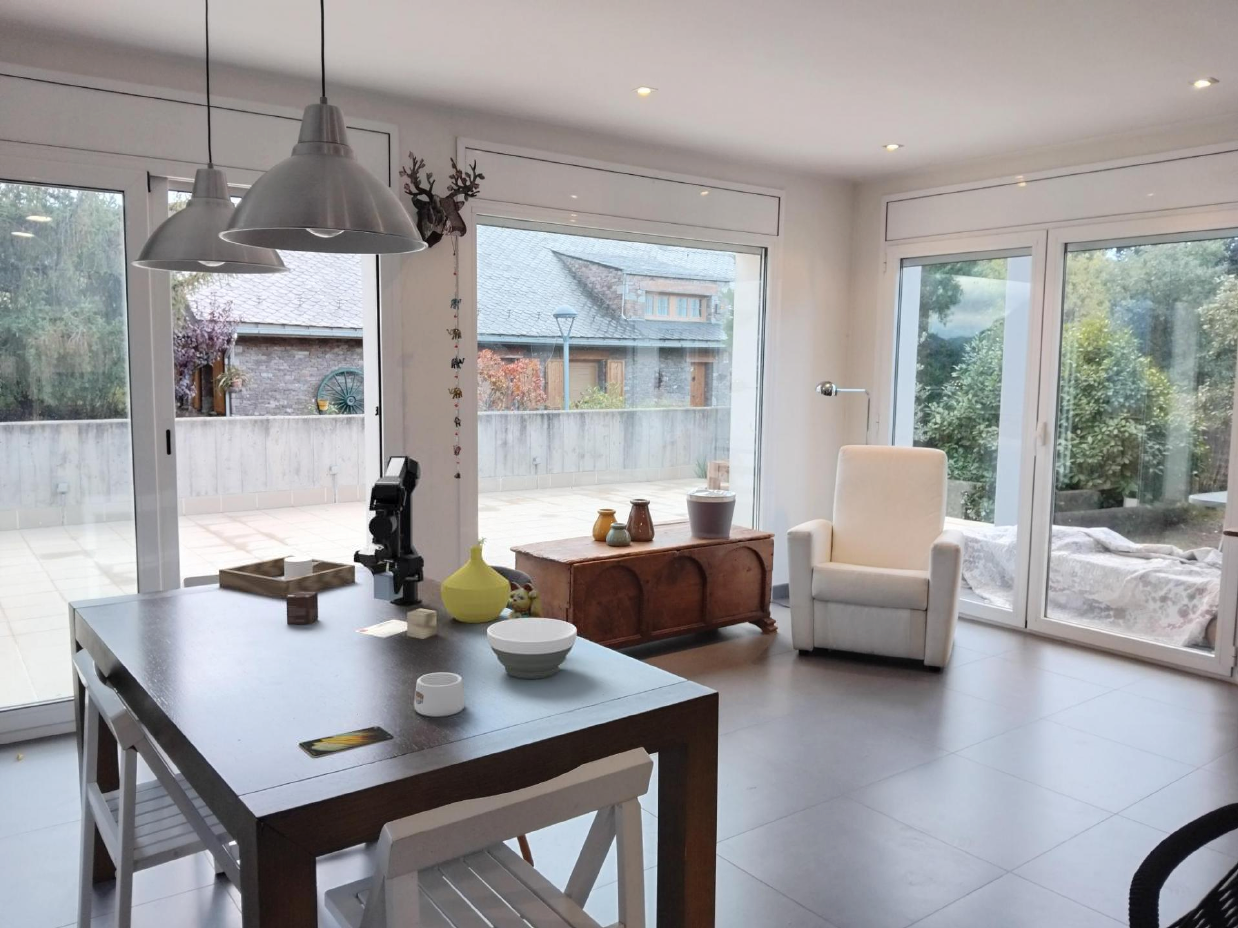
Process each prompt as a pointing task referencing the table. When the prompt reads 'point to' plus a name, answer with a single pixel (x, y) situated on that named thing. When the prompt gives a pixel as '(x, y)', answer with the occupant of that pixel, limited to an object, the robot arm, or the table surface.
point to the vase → (475, 591)
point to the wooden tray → (261, 582)
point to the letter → (385, 628)
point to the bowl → (531, 645)
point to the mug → (439, 694)
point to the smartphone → (345, 741)
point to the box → (302, 607)
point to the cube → (385, 587)
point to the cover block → (421, 623)
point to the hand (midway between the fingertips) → (388, 592)
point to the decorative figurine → (524, 602)
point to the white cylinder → (298, 566)
